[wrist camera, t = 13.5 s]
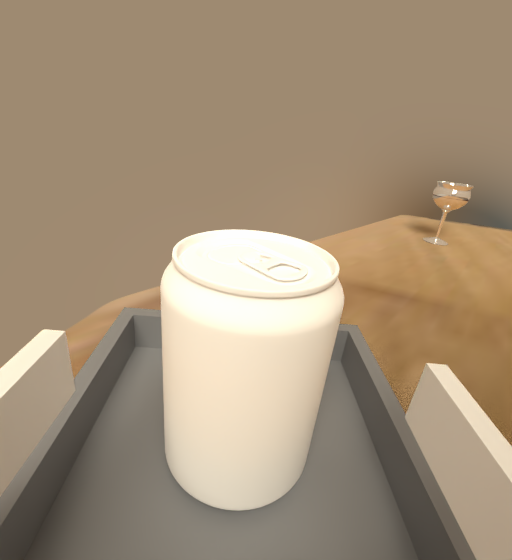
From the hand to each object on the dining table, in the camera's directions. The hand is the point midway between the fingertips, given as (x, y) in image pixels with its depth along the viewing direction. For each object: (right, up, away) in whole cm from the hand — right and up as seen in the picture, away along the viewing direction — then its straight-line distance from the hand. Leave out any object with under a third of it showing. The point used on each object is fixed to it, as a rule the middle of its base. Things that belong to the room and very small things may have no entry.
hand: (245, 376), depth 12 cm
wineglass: (+39, +12, +58) cm, 71 cm away
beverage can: (-1, -6, +7) cm, 9 cm away
